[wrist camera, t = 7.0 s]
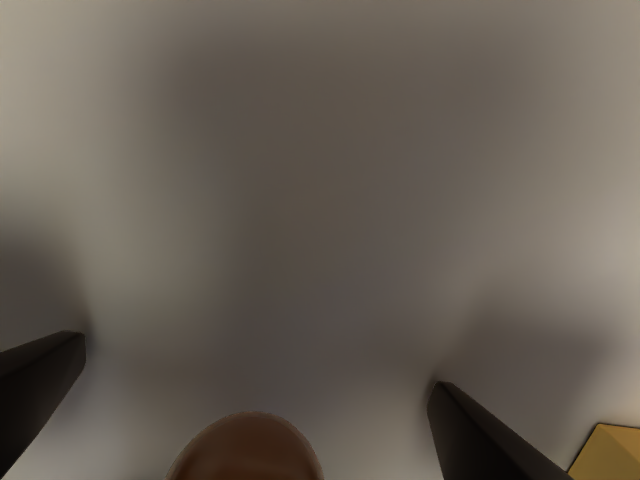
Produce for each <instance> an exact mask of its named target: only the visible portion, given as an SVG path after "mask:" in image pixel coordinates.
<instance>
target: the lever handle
mask: <svg viewBox="0 0 640 480" xmlns="http://www.w3.org/2000/svg"><path fill="white" fill-rule="evenodd" d="M164 480H324V476H323V472H322V468H321V465H320V463H319V461H318V458H317V456H316V454H315V452H314V450H313V448H312V446H311V445H310V443H309V442H308V440H307V439H306V438H305V436H304V435H303V434H302V433H301V432H300V431H299V430H298V429H297V428H296V427H295V426H294V425H292V424H291V423H289V422H288V421H287V420H285V419H283V418H281V417H279V416H276V415H274V414H271V413H266V412H261V411H248V412H240V413H236V414H232V415H229V416H227V417H224V418H222V419H220V420H218V421H216V422H215V423H213V424H211V425H210V426H208V427H207V428H205V429H204V430H203V431H201V432H200V433H199V434H198V435H197V436H196V437H195V438H193V439H192V440H191V442H190V443H189V444H188V445H187V446H186V447H185V448H184V450H183V451H182V452H181V453H180V454H179V456H178V457H177V459H176V460H175V462H174V463H173V465H172V466H171V468H170V470H169V472H168V474H167V475H166V477H165V479H164Z"/></svg>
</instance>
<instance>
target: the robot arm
mask: <svg viewBox="0 0 640 480" xmlns="http://www.w3.org/2000/svg"><path fill="white" fill-rule="evenodd" d="M85 363H86V339H85V335H84V334H83V333H81V332H75V331H61V332H58V333H55V334H52V335H49V336H46V337H43V338H40V339H38V340H35V341H32V342H29V343H26V344H23V345H20V346H17V347H15V348H12V349H9V350H6V351H3V352H0V480H1V479H2V478H3V476H4V475H5V474H6V473H7V472H8V470H9V469H10V468H11V467H12V466H13V464H14V463H15V462H16V461H17V460H18V458H19V457H20V456H21V455H22V454H23V452H24V451H25V450H26V449H27V447H28V446H29V445H30V444H31V443H32V441H33V440H34V439H35V438H36V436H37V435H38V434H39V432H40V431H41V429H42V428H43V427H44V425H45V424H46V423H47V421H48V420H49V418H50V417H51V415H52V414H53V413H54V411H55V410H56V408H57V407H58V405H59V404H60V403H61V401H62V400H63V398H64V397H65V395H66V394H67V393H68V391H69V390H70V388H71V387H72V385H73V384H74V383H75V381H76V380H77V378H78V377H79V375H80V374H81V373H82V371H83V369H84V367H85ZM427 416H428V420H429V424H430V428H431V432H432V436H433V440H434V444H435V448H436V452H437V456H438V460H439V464H440V467H441V471H442V475H443V478H444V480H575V479H573V478H572V477H571V476H570V475H568V474H567V473H566V472H565V471H563V470H562V469H561V468H560V467H558V466H557V465H556V464H555V463H553V462H552V461H551V460H549V459H548V458H547V457H546V456H544V455H543V454H542V453H541V452H539V451H538V450H537V449H536V448H534V447H533V446H532V445H530V444H529V443H528V442H527V441H525V440H524V439H523V438H522V437H520V436H519V435H518V434H517V433H515V432H514V431H513V430H512V429H510V428H509V427H508V426H506V425H505V424H504V423H503V422H501V421H500V420H499V419H498V418H496V417H495V416H494V415H493V414H491V413H490V412H489V411H488V410H486V409H485V408H484V407H482V406H481V405H480V404H479V403H477V402H476V401H475V400H474V399H472V398H471V397H470V396H469V395H467V394H466V393H465V392H464V391H462V390H461V389H460V388H458V387H457V386H456V385H455V384H453V383H450V382H443V381H438V382H436V383H435V385H434V388H433V390H432V393H431V396H430V398H429V401H428V404H427Z"/></svg>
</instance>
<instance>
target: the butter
mask: <svg viewBox="0 0 640 480" xmlns="http://www.w3.org/2000/svg"><path fill="white" fill-rule="evenodd" d="M568 475H570V476H571V477H572V478H573V479H575V480H640V429H635V428H627V427H619V426H611V425H603V424H598V425H597V426H596V428H595V430H594V431H593V433H592V435H591V436H590V438H589V439H588V441H587V443H586V444H585V446H584V448H583V449H582V451H581V452H580V454H579V456H578V457H577V459H576V461H575V462H574V464H573V465H572V467H571V469H570V470H569V472H568Z"/></svg>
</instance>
